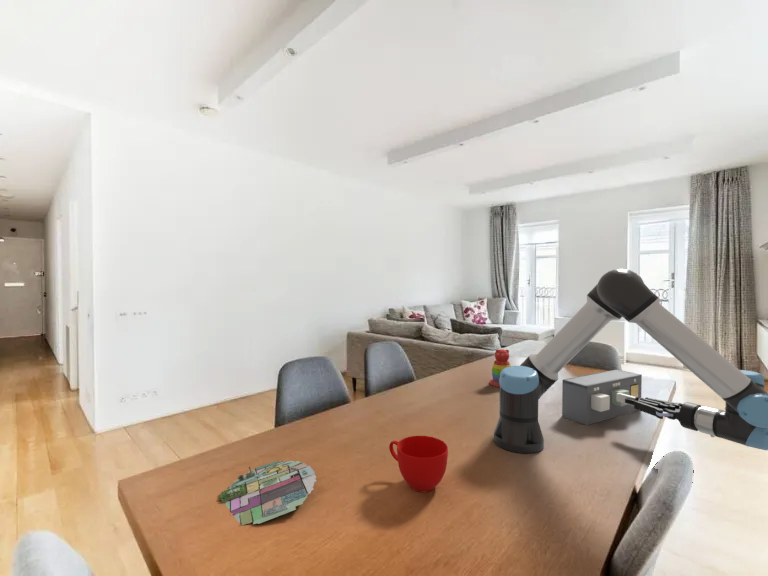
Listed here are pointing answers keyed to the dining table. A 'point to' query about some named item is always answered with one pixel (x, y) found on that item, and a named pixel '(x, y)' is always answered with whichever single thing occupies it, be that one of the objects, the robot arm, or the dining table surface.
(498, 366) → the stacking bear
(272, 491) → the city model
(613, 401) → the sage button
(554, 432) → the dining table surface
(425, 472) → the ceramic cup
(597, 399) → the white button
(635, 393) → the brass button
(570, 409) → the button console
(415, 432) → the dining table surface
